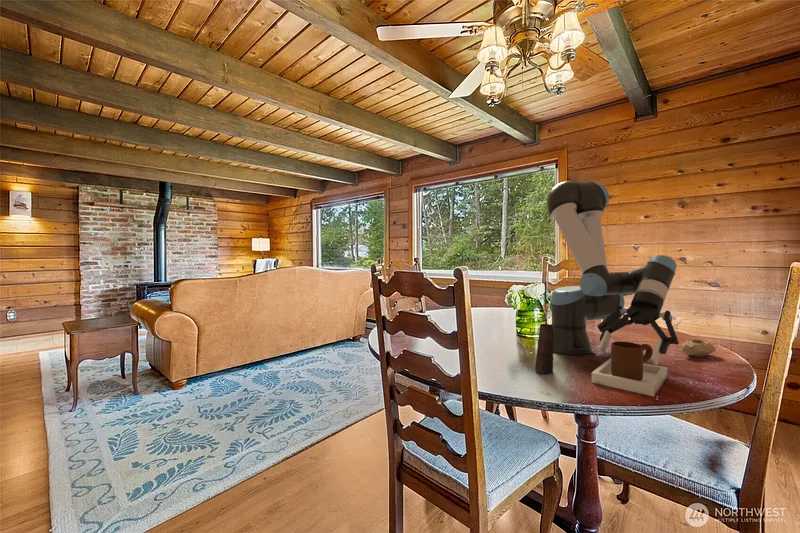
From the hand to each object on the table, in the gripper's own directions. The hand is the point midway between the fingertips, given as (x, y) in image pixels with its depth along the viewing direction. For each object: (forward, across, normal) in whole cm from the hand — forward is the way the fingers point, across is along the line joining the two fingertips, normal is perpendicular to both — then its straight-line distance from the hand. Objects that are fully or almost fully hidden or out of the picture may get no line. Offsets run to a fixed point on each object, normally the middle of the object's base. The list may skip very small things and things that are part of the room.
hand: (626, 356), depth 98 cm
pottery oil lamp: (-25, -3, -36) cm, 44 cm away
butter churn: (+13, +18, +3) cm, 22 cm away
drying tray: (+3, 0, -7) cm, 8 cm away
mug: (+3, -1, -6) cm, 7 cm away
